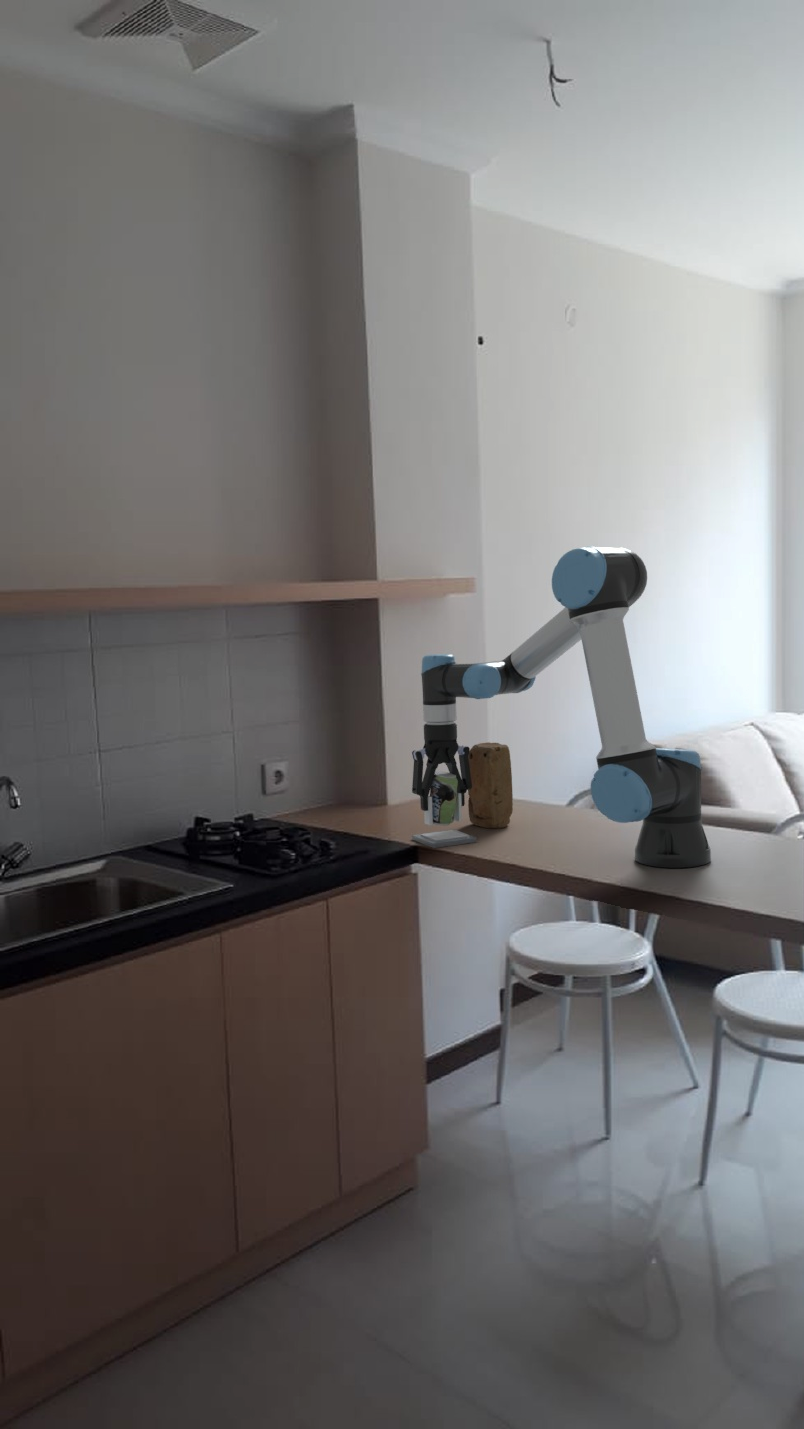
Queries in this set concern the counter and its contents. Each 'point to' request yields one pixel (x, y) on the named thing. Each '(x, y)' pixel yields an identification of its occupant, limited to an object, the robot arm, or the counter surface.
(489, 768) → the block
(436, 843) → the plate
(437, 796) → the beverage can
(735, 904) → the counter surface
